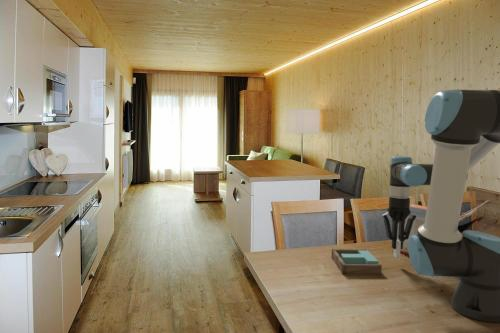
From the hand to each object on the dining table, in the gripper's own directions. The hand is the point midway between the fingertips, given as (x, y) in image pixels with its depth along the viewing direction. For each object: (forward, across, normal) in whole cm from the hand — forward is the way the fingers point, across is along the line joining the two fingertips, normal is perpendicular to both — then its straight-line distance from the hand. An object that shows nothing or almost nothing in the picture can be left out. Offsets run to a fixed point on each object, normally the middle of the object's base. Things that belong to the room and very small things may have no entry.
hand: (396, 256), depth 150 cm
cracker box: (+4, -13, -15) cm, 20 cm away
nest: (+4, +16, -1) cm, 17 cm away
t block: (+4, +15, -1) cm, 16 cm away
